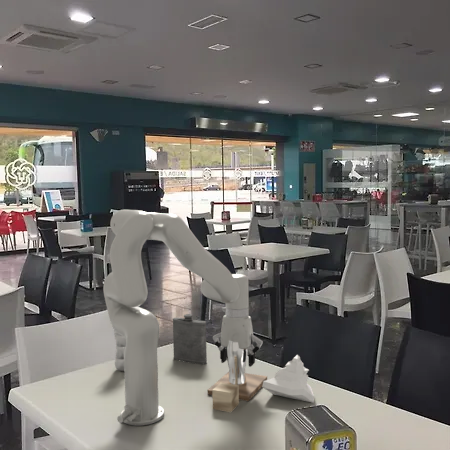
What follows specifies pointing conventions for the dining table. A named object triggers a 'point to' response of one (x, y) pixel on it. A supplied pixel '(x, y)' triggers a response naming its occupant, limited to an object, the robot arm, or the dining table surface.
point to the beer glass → (236, 363)
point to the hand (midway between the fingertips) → (237, 363)
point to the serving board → (246, 390)
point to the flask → (189, 340)
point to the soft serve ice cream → (291, 382)
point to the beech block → (225, 397)
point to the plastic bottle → (119, 351)
